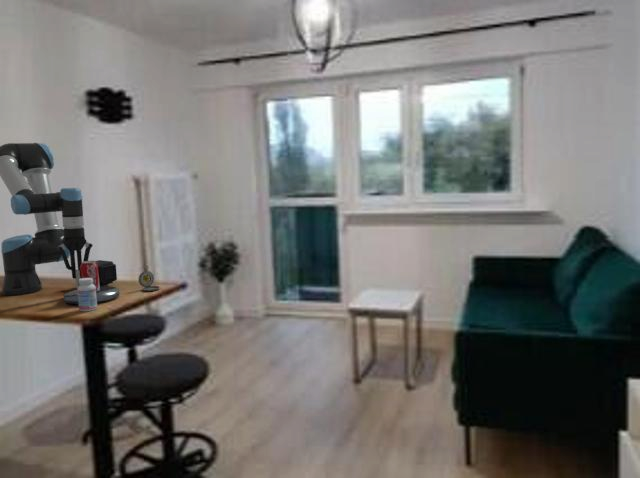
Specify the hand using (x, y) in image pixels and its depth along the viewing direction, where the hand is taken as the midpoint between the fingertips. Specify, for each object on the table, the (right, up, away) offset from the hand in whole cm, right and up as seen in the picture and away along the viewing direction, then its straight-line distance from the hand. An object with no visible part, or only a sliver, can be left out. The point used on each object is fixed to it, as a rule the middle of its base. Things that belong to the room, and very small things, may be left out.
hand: (78, 286), depth 222 cm
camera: (+2, -2, +18) cm, 18 cm away
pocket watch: (+27, -2, +7) cm, 28 cm away
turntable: (+7, -4, -5) cm, 10 cm away
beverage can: (+8, -2, -7) cm, 11 cm away
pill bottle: (+13, -7, -22) cm, 27 cm away
